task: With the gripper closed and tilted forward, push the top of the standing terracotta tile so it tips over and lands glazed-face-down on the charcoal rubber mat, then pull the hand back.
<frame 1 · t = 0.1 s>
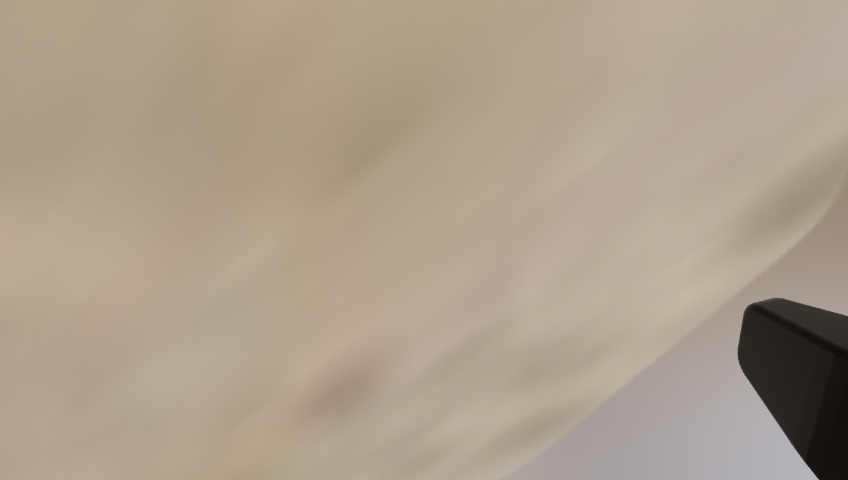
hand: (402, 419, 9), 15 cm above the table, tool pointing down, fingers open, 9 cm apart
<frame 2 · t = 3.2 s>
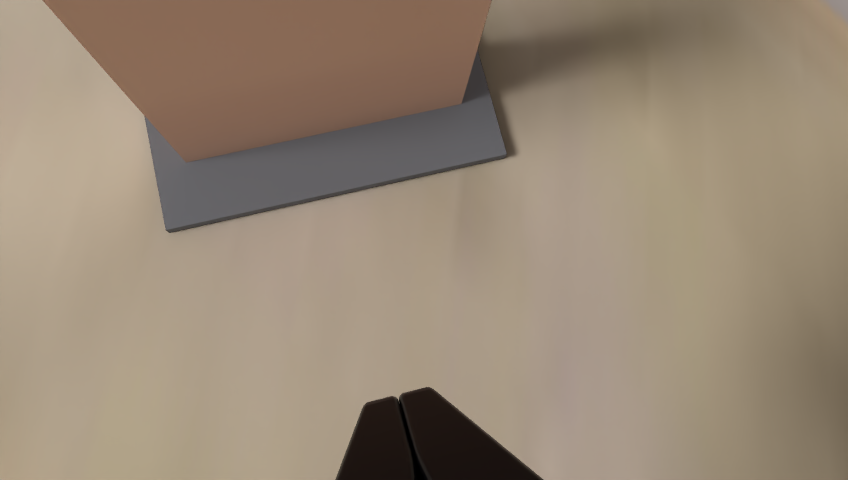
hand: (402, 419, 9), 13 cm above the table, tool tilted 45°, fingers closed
tile: (319, 104, 23), resting on mat
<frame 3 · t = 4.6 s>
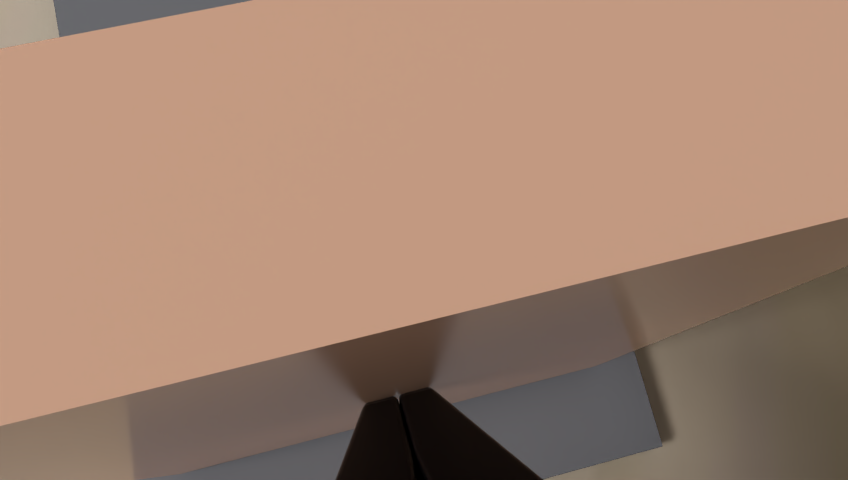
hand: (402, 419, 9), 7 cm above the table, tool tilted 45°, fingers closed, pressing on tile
mat: (320, 103, 17), on the table
tile: (383, 372, 15), resting on mat, touching gripper
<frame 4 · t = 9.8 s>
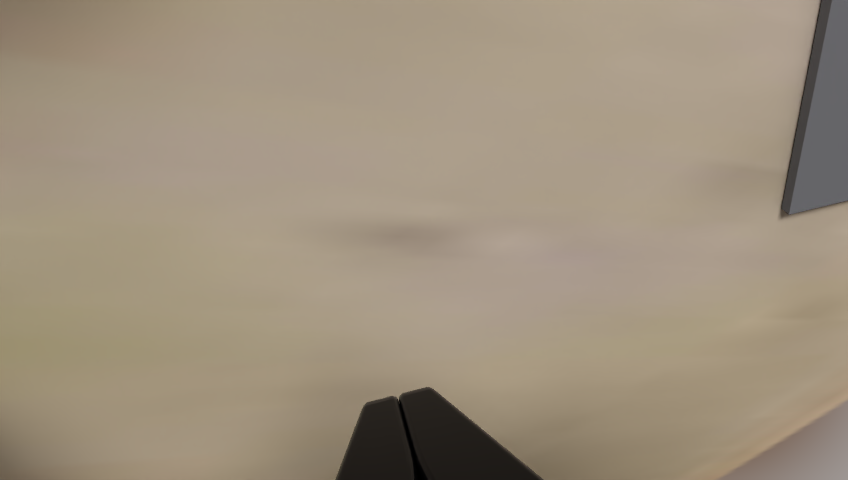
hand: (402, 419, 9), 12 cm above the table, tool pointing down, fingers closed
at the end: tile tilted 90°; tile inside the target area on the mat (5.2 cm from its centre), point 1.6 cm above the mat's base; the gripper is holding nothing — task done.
